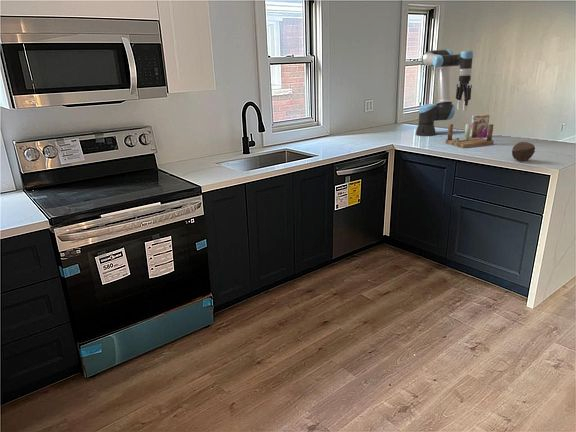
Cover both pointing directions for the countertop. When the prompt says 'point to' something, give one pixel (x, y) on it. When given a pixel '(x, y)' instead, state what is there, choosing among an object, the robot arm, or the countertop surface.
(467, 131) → the crank handle
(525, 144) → the rock
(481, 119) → the candy bar box
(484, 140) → the wooden peg board
